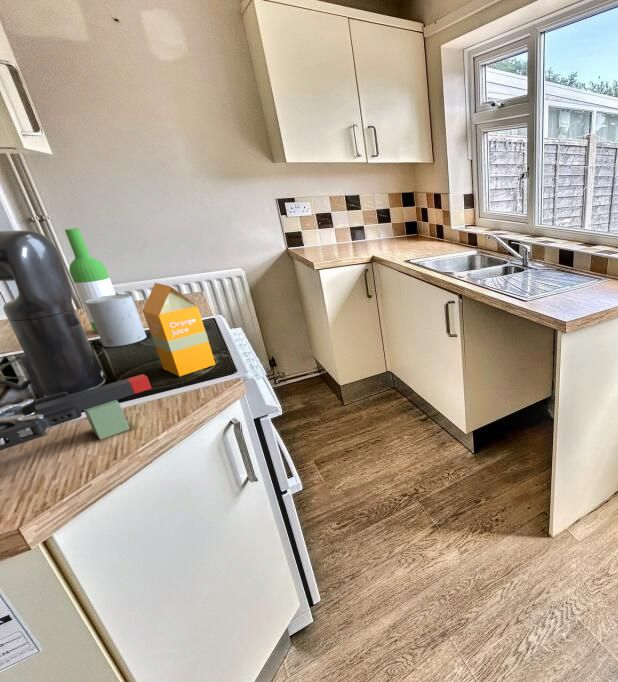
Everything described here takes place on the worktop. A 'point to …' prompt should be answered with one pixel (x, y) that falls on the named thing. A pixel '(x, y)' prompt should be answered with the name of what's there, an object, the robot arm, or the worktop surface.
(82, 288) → the wine bottle
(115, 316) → the grey speckled cylinder
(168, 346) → the orange juice
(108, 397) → the marker
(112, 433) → the block
